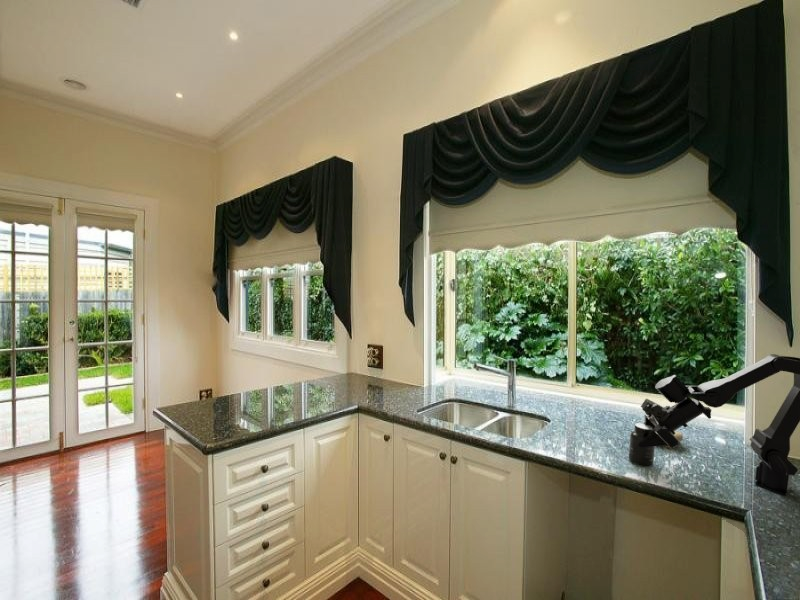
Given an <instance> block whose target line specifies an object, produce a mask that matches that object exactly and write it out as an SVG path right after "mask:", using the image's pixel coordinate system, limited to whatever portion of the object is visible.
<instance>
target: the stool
mask: <svg viewBox="0 0 800 600" xmlns="http://www.w3.org/2000/svg"><path fill="white" fill-rule="evenodd" d="M674 432H675V433H676V434H674V435H675V437H676V438H677V440H678V445H679V444H681V442H682V441H683V438H684V436H683V433H681V432H680V431H678V430H675V431H674ZM664 448H666V449H672V448H671V447H670V446H664Z"/></svg>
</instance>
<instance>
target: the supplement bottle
mask: <svg viewBox="0 0 800 600" xmlns="http://www.w3.org/2000/svg"><path fill="white" fill-rule="evenodd" d="M650 433H651V426H649V425H647V424H644V423H643V422H642V423H641V422H638V423H637V422H636V423H635V424H634V430H633V431H632V432H631V433H630V435H629V437H630V438H629V450H628V460H629V461H631V462H632V463H633V464H635V465H637V466H639V467H645V468H646V467H652V466H654V462H655V461H654V459H655V452H656V451H655V450H656V446H652V447H642V448H641V447H640V446H639V445H638V444H639V443H640V442H641V441H642V440H643V439H645V438H646V437H647V436H648V435H649V434H650Z"/></svg>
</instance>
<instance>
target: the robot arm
mask: <svg viewBox="0 0 800 600" xmlns="http://www.w3.org/2000/svg"><path fill="white" fill-rule="evenodd" d="M780 372H786V373H791V374H793V385H792V387H791V389H790V390H789V392H788V394H787V395H786V396H785V399H784V400H783V402H782V403H781V405H780V407H779V409H778V411H777V412H776V414H775V416H774V417H773V419H772V421H771V422H770V424H769V426H767V428H764V429H763V430H761V429H759V428H756V429H755V430H754V433H753V436H751V437H750V438H749V440H750V447H751V450H752V451H753V452H754V453H755V454H756V455H757V457H758V459H759V460H761V461H760V462H759V464H758V465H757V466H756V469H755V478H754V480H755V482H754V484H755V485H756V486H758V487H762V488H763V489H766V490H769V491H771V492H774V493H777V494H780V495H783V496H786V495H788V494H789V493H791V491H792V490H793V487H792V485H791V484H792V477H793V476H795V475H796V473H797V472H798V471H799V470H798V468H797V467H796V466H795V465H794V464H793V463H792V462H791V461H790V460H789V459H788V457H789V454H790V452H791V437H792V436H793V434H794V432H795V431H796V429H797V427H798V425H799V423H800V357H795V356H786V355H780V354H776V353H775V354H774V353H772V354H769V355H766V357H764V358H763V359H761V360H759V361H756V362H755V363H753V364H751V365H748V366H746V367H744V368H743V369H740V370H738V371H737V372H734V373H733V374H730V375H728V376H726V377H724V378H720V379H712V380H709V381H707V382H703V383H701V384H699V385H685V384H684V383H683V382H682V380H681V379H680V378H679V377H677V376H676V374H672V375H671V376H668V377H666V378H662V379H660V380H659V381H658V382H657V383H656V384H655V386H654V388H655V389H656V390H657V391H658V392H659V393H660V394H661V395H662V396H663V397H664V398H665V399H666V400H667V401H668V402H669V403H674V404H673V405H672V406H670V405H665V406H662V405H660V404H658V403H656V402H654V401H652V400H651V399H648V398H645V399H644V401H643V402H642V404H641V405H640V407H641V408H642V411H643V412H644V413H645V414H644V422H643V424H647V425H649V426H651V433H650V434H649V435H648V436H647V437H646V438H645V439H643V440H642V441H641V442H640V443H639V444H638V445H639V446H640V447H641V448H642V447H652V446H655V447H665V446H670V447H671V448H670V449H674V448H676V447H678V446H679V444H678V440H677V438H676V437H675V435H674V434H676V433H675V432H674V431H675V430H676V431H678V429H680V428H681V427H683V428H686V427H689V425H688V423H689V422H692V421H693V420H694V419H696V418H698V417H699V416H700V415H702V414H704V415H705V417H706V418H707V419H709V420H710V419H711V418H712V408H713V409H715V408H720V407H723V406H724V405H725V404H727V403H728V402H729V401H731V400H732V399H733V398H734V396H735V395H736V394H738V393H739V392H740V391H743V390H744V389H747V388H749V387H751V386H753V385H754V384H757V383H759V382H761V381H764V380H766V379H767V378H769V377H771V376H773V375H776V374H778V373H780ZM689 395H690V396H692V397H690V396H689ZM692 398H693V399H692ZM702 403H704V404H702ZM705 405H706V406H705Z"/></svg>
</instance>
